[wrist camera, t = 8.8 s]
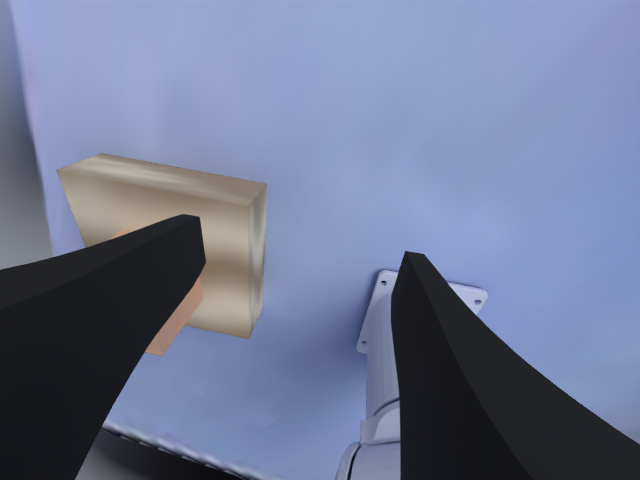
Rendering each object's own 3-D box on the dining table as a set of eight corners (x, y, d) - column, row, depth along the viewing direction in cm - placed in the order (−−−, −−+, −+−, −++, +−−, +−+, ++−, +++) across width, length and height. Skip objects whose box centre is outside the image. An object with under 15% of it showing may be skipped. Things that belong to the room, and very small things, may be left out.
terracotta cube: (202, 298, 22) (162, 356, 18) (139, 286, 22) (84, 339, 18) (195, 243, 19) (145, 294, 15) (123, 229, 19) (54, 276, 15)
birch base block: (264, 303, 27) (249, 339, 23) (141, 278, 28) (108, 308, 24) (268, 181, 20) (248, 205, 17) (106, 151, 21) (56, 169, 18)
